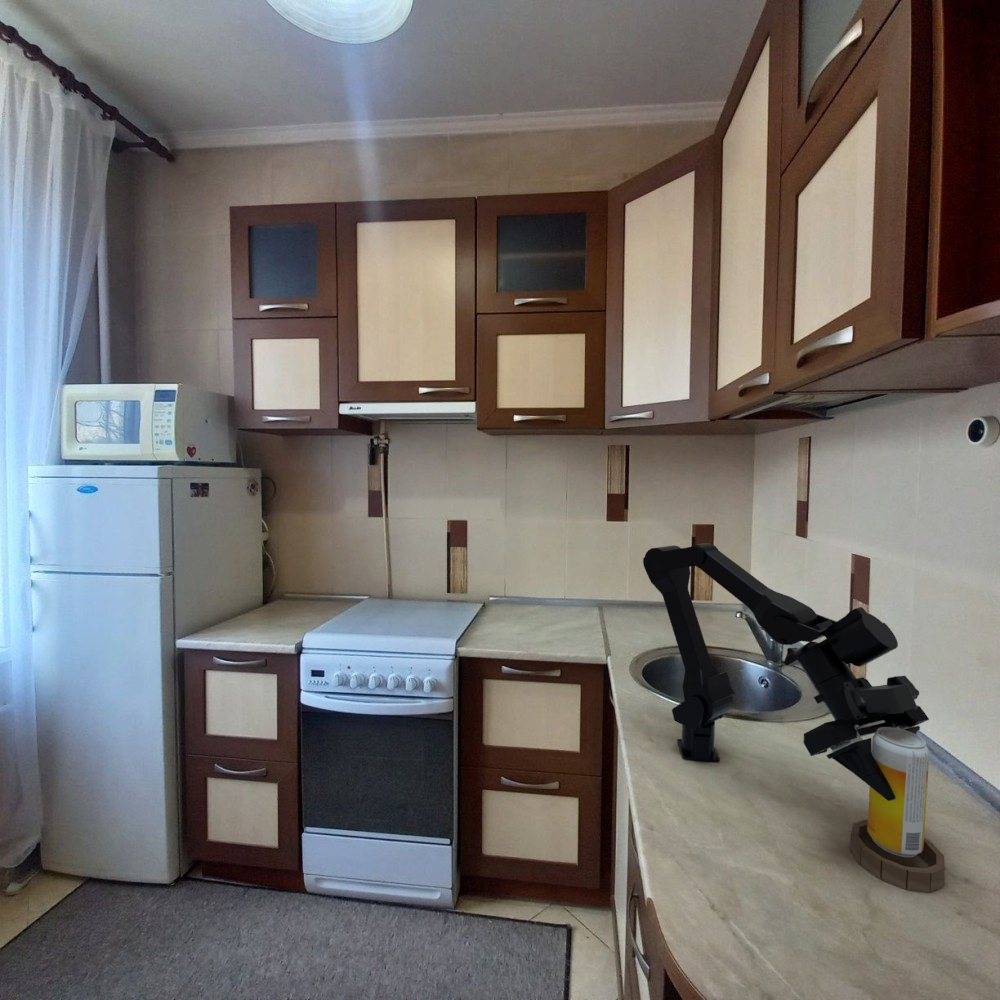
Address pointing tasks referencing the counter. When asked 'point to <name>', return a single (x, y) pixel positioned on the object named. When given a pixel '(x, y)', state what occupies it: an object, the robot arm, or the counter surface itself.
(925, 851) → the collar
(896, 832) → the beer can
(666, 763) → the counter surface
